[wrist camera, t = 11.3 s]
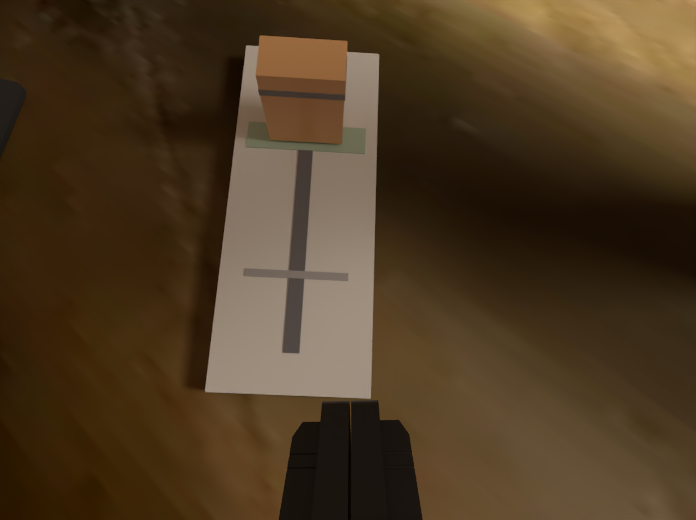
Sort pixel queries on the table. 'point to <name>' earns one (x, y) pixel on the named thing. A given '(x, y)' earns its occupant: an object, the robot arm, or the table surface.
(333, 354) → the white slider board
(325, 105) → the fader tab
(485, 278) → the table surface
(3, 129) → the phone
